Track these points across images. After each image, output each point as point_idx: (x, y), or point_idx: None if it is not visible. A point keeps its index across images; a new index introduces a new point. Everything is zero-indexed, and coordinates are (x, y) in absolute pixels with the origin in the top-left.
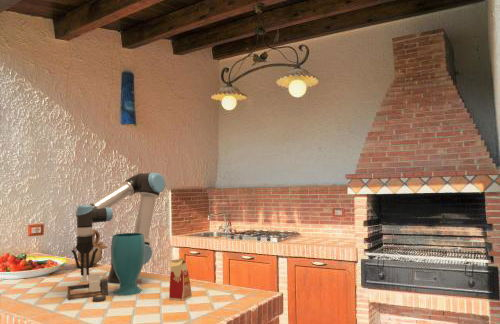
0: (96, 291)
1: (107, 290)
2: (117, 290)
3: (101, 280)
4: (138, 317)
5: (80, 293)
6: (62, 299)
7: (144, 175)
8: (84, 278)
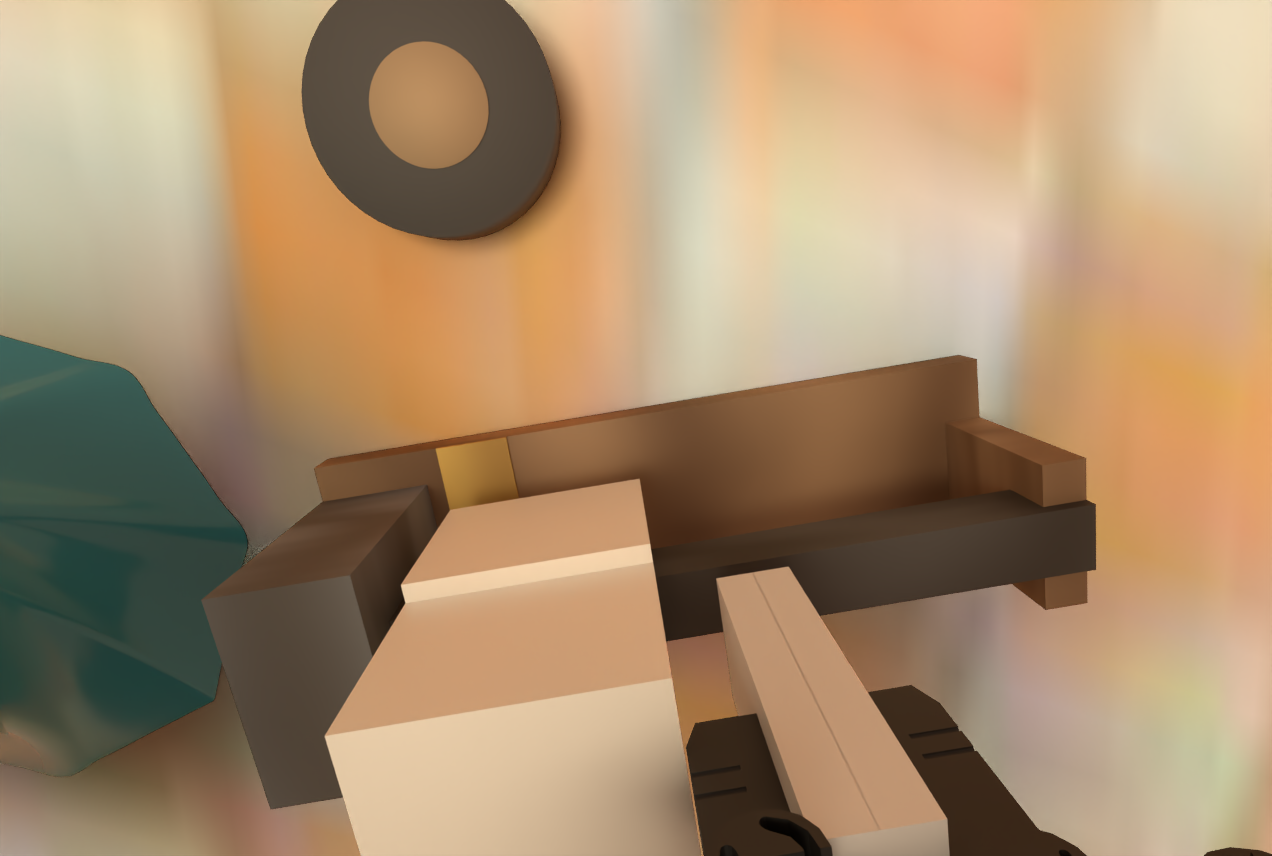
0: None
1: (313, 514)
2: (151, 558)
3: None
4: None
5: None
6: (1043, 424)
7: None
8: (793, 616)
